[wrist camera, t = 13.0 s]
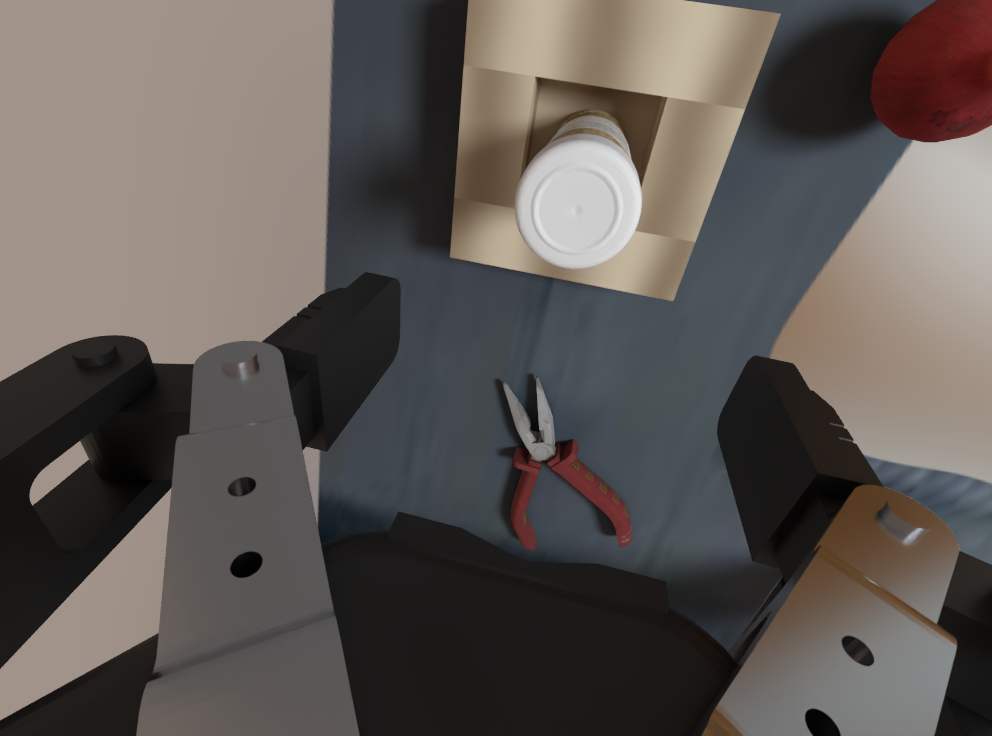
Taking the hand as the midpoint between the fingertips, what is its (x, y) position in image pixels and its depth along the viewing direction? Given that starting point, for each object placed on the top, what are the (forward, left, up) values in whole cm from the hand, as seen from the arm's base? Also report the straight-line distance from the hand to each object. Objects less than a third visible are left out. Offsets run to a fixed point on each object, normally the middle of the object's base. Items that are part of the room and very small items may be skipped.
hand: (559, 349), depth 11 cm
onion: (-15, -7, -22) cm, 28 cm away
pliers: (-4, +26, -23) cm, 35 cm away
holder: (0, -1, -22) cm, 22 cm away
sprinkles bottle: (0, -1, -21) cm, 21 cm away
